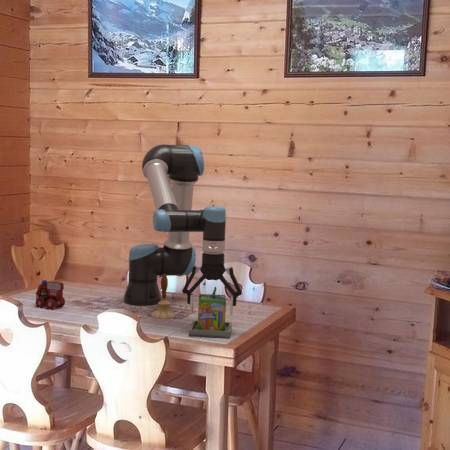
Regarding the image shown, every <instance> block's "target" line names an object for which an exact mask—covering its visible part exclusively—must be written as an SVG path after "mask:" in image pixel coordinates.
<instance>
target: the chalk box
mask: <svg viewBox="0 0 450 450" xmlns="http://www.w3.org/2000/svg"><path fill="white" fill-rule="evenodd" d="M216 292H217V287H216V286H215V287H214V288H213V291H212V294H207V293H199V294H198V307H197V308H198V311H197V312H198V313H197V321H198V330H212V331H225V322H226V309H227V308H226V307H227V299H226V295H225V294H216Z"/></svg>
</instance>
